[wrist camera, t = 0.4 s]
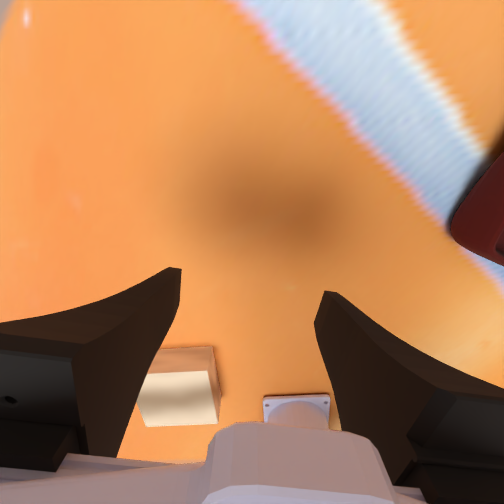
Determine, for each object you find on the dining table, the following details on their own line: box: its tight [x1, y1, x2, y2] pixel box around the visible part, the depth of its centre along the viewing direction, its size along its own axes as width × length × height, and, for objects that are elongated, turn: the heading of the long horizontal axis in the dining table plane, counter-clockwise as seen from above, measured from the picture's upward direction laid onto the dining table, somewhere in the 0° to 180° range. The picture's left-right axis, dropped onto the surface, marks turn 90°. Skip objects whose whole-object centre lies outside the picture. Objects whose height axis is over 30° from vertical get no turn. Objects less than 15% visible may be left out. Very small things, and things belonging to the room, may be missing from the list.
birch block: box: [136, 346, 222, 427], centre depth 27 cm, size 8×8×4 cm
